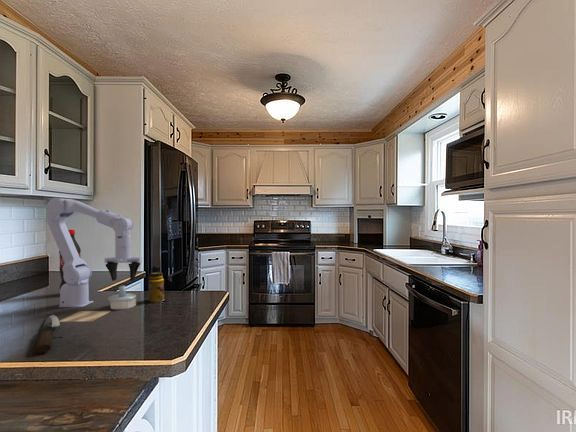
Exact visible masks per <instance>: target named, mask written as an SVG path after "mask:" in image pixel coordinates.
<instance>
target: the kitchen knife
mask: <svg viewBox="0 0 576 432" xmlns="http://www.w3.org/2000/svg"><path fill="white" fill-rule="evenodd" d="M60 325H61V324H60V319H59V318H58V316H56V315H55V314H51V315H49V316H47V318H46V320H45V322H44V323H43V327H41V329H39V331H38V336H37V339H36V343H35V346H34V353H35V354H41V355H42V354H46V353H47V352H49V351H50V350H51V349H52V342H53V336H54V329H56V328H58V327H60Z"/></svg>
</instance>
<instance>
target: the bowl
mask: <svg viewBox="0 0 576 432" xmlns="http://www.w3.org/2000/svg"><path fill="white" fill-rule="evenodd" d="M109 302H110V303H109V304H110V309H112V310H124V309H125V310H126V309H130V308H133V307H136V306H137V297H136V298H135V299H132V300H128V301H122V302H111V301H109Z"/></svg>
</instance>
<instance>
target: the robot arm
mask: <svg viewBox="0 0 576 432" xmlns="http://www.w3.org/2000/svg"><path fill="white" fill-rule="evenodd" d="M45 209H46V211H47V224H48V227H49V229H50V231H51V233H52V237H53V239H54V241H55V243H56V245H57V247H58V251H59V250H60V253H61V255H62V257H63V260H64V262H65V264H64V266H63V268H62V270H63V273H64V275H63V278H64V280H65V282H66V284H64V285H62V287H61V289H60V288H59V306H58V307H59V308H81V307H85V306H87V305H89V304H91V303H94V301H93V300H89V297H90V295H89V294H90V293H89V288H90V287H89V285H90V284H89V279H90V278H91V277H92V274H93V273H92V270H93V269H92V268H91V267H90V266H88V264H87V263H86V261H85V260H84V259H82V258H81V256H80V257H79V254H78V252H77V250H76V247H75V245H74V243H73V240H72V238H71V236H70V233H69V231H68V230H69V229H68V227H67V223H66V222H67V221H68V219H70V217H71V216H72V215H73V214H75V213H76V212H79V213H81V214H84V215H87V216H89V217H92V218H94V219H96V221H97V223H98V224H101V225H103V226H106V227H109V228H111V229H112V230H113V232H114V236H115V237H114V240H115V241H114V242H115V243H114V246H115V247H114V249H115V250H114V254H115V255H114V257H104V264H105V268H106V269H107V270H108V272H109V275H110V277H111V280H112V281H113V282H114V281H117V278H118V275H117V273H118V272H117V271H118V266H119V265H118V264H120V263H125V264H126V263H127V264H128V266H129V273H130V274H129V275H130V277H129V278H130V282H133V281H135V280H136V275H137V272H138V269H139V268H140V265H141V263H142V262H143V261H142V259H143V258H142V257H136V256H132V244H131V243H132V241H131V240H132V235H131V234H132V232H131V231H132V229H133V228H134V223H133V220H132V219H131V218H129V217H127V216H124V217H122V216H123V215H121V214H116V213H114V212H112V210H110V209H102V210H99V209H97V208H95V207H93V206H90V205H88V204H86V203H84V202H82V201H79V200H76V199H74V198H59V197H53V198H51V199H50V200H49V201H48V203H47V205H46V206H45ZM60 253H59V254H60ZM112 281H111V282H112Z"/></svg>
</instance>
